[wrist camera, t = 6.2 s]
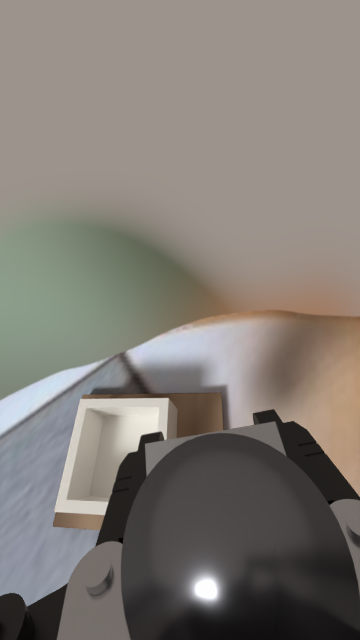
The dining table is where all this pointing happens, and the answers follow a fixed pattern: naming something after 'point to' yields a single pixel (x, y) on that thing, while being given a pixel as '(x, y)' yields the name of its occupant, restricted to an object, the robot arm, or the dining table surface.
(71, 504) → the holder
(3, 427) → the dining table surface
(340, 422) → the dining table surface
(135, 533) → the capped metal post
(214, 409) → the board
